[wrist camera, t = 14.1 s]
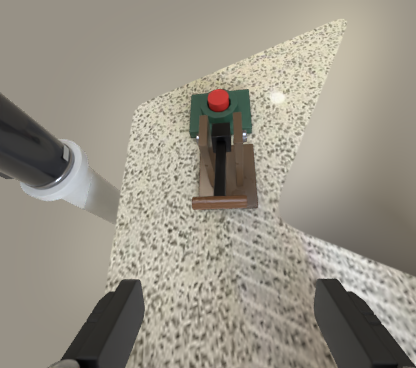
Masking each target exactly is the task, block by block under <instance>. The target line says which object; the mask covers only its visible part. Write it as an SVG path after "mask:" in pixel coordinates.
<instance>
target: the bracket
mask: <svg viewBox="0 0 416 368" xmlns="http://www.w3.org/2000/svg"><path fill="white" fill-rule="evenodd" d="M233 132H234V145H231V152H226V196H229V195H247V205H248V207H247V208H257V207H258V200H257V188H256V176H255V163H254V151H253V144H243V142H247V133H246V130H242V116H241V112H234V113H233ZM196 140H197V145H198V146H199V149H200V175H199V197H204V196H213V195H214V177H215V158H216V153H213V148H212V141H211V129H210V125H209V120H208V115H201V116H199V134H197V135H196ZM235 209H238V208H235ZM202 210H206V209H202Z"/></svg>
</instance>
